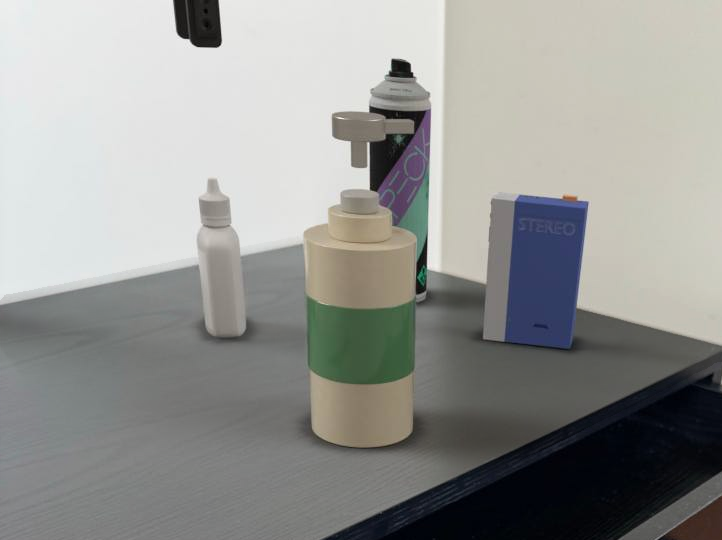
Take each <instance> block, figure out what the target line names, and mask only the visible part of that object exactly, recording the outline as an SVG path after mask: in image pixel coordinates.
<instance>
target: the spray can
mask: <svg viewBox="0 0 722 540" xmlns="http://www.w3.org/2000/svg"><path fill="white" fill-rule="evenodd" d="M390 59H391V60H390V70H388V74H384V75H383V76H384V77H383V79H384V80H382V81H381V82H379V83H377V85H376V86H375V87H372V88H370V89H369V91H370V92H369V94H370V97H369V99H368V110H369V111H368V112H369V113H376V114H380V115H383V116H385V118H386V119H410V120H412V121H414V134H386V138H385V140H383V141H379V142H368V143H369V145H368V147H369V152H368V153H369V159H368V160H369V190H371V191H375V192H377V193H378V194H379V206H383V207H386V208H388V209H390V210H391V212H392V226H396V227H399V228H403V229H405V230H408V231H410V232H412V233H413V234H414V235H415V236H416V238H417V248H416V303H420V302H422V301H424V300H426V298H427V285H428V283H427V282H428V277H427V276H428V249H429V248H428V247H429V246H428V243H429V242H428V241H429V237H428V236H429V207H430V206H429V204H430V173H431V171H430V170H431V168H430V166H431V135H432V134H431V131H432V130H431V127H432V102H431V100H430V98H431V92H430V91H427V90H426V89H425V88H424V87H423V86H422V85H421V84H420V83H419V82H417V81H418V80H417V76H415V75H414V72H413V71H412V64H411V62H409V61H408V60H406V59H402V58H390Z"/></svg>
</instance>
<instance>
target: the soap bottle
mask: <svg viewBox="0 0 722 540" xmlns="http://www.w3.org/2000/svg"><path fill="white" fill-rule="evenodd" d="M339 196H340V197H339V198H340V200H339V202H340V203H339V204H335V205H332V206H329V207H328V209H327V223H322V224H321V223H320V224H317V225H313V226H310V227H309V228H308V227H307V229H305V230H304V231H303V233H302V245H303V266H304V268H303V269H304V306H305V307H304V308H305V326H306V328H305V329H306V351H307V367H308V376H309V379H308V380H309V398H310V421H311V422H310V423H311V430H312V431H313V433H314V435H316V436H317V437H318V438H319V439H322V440H323V441H326V442H328V443H332V444H334V445H337V446H342V447H349V448H362V449H363V448H364V449H365V448H380V447H385V446H390V445H394V444H397V443H399V442H403V440H405V439H407V438H408V437H409V436H410V435H411V434H412V432H413V431H414V398H415V397H414V394H415V368H416V332H417V330H416V329H417V327H416V326H417V302H416V248H417V238H416V236H415V235H414V234H413V233H412V232H410V231H408V230H405V229H403V228H399V227H396V226H392V212H391V210H390V209H388V208H386V207H383V206H379V194H378V193H377V192H375V191H371V190H370V189H363V188H350V189H344V190H342V191H340V193H339Z"/></svg>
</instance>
